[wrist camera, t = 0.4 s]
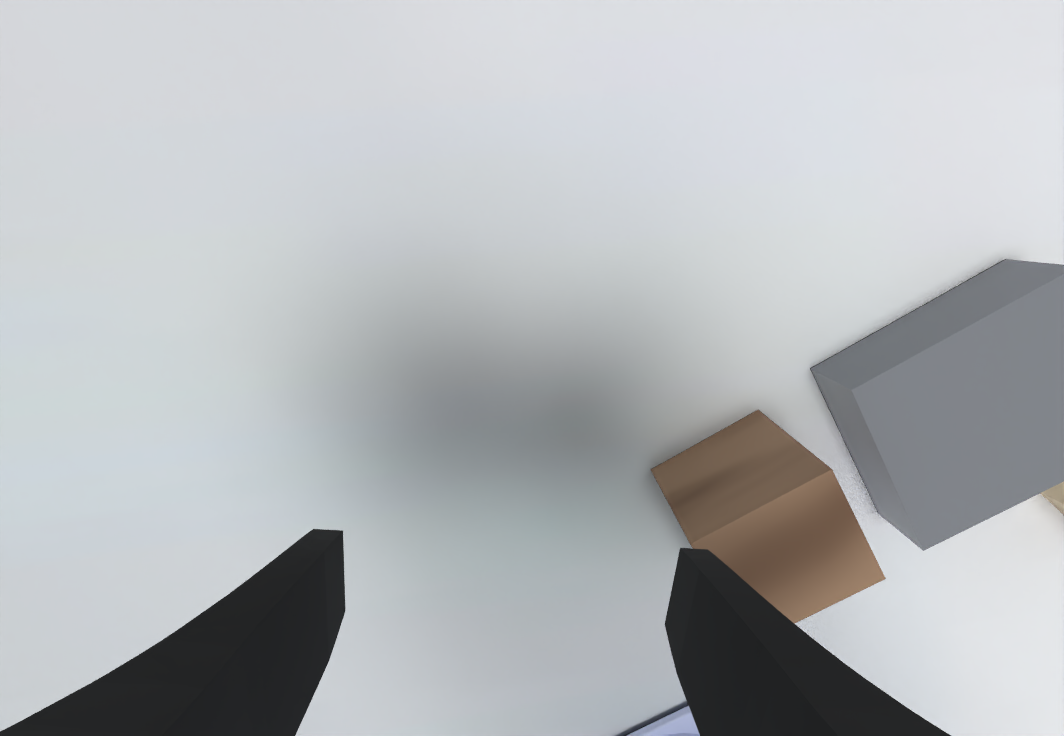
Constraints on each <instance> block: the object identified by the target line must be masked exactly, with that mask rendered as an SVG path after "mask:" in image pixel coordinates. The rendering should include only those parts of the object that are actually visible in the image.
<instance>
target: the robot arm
mask: <svg viewBox="0 0 1064 736" xmlns="http://www.w3.org/2000/svg"><path fill="white" fill-rule="evenodd" d="M344 613H345V586H344V553H343V531H340V530H320V529H313V530H311V531H310V532H309V533H307V534H306V535H305V536H303V537H302V538H301V539H300V540H298V541H297V542H296V543H294V544H293V545H292V546H291V547H289V548H288V549H287V550H286V551H284V552H283V553H282V554H281V555H279V556H278V557H277V558H275V559H274V560H273V561H272V562H270V563H269V564H268V565H266V566H265V567H264V568H263V569H261V570H260V571H259V572H257V573H256V574H255V575H253V576H252V577H251V578H250V579H248V580H247V581H246V582H244V583H243V584H242V585H240V586H239V587H238V588H236V589H235V590H234V591H232V592H231V593H230V594H228V595H227V596H226V597H224V598H223V599H221V600H220V601H218V602H217V603H216V604H214V605H213V606H211V607H210V608H208V609H207V610H206V611H204V612H203V613H201V614H200V615H198V616H197V617H196V618H194V619H193V620H191V621H190V622H188V623H187V624H186V625H184V626H183V627H181V628H180V629H178V630H177V631H175V632H174V633H172V634H171V635H169V636H168V637H166V638H165V639H163V640H162V641H160V642H159V643H157V644H155V645H154V646H152V647H151V648H149V649H148V650H146V651H144V652H143V653H141V654H139V655H138V656H136V657H135V658H133V659H131V660H130V661H128V662H126V663H125V664H123V665H121V666H120V667H118V668H116V669H115V670H113V671H111V672H110V673H108V674H106V675H105V676H103V677H101V678H99V679H98V680H96V681H94V682H92V683H91V684H89V685H87V686H85V687H83V688H81V689H79V690H78V691H76V692H74V693H72V694H70V695H68V696H66V697H65V698H63V699H61V700H59V701H57V702H55V703H54V704H52V705H50V706H48V707H46V708H44V709H42V710H41V711H39V712H37V713H35V714H33V715H31V716H29V717H28V718H26V719H24V720H22V721H20V722H18V723H16V724H14V725H12V726H11V727H9V728H7V729H5V730H3V731H1V732H0V736H295V735H296V732H297V730H298V728H299V726H300V724H301V721H302V719H303V717H304V715H305V713H306V711H307V708H308V706H309V704H310V702H311V700H312V697H313V695H314V693H315V691H316V689H317V686H318V684H319V682H320V680H321V677H322V675H323V673H324V671H325V668H326V666H327V664H328V662H329V659H330V656H331V653H332V650H333V647H334V644H335V641H336V638H337V635H338V632H339V629H340V626H341V622H342V619H343V616H344ZM665 627H666V631H667V635H668V640H669V644H670V648H671V652H672V656H673V660H674V664H675V668H676V672H677V675H678V678H679V680H680V683H681V686H682V689H683V692H684V694H685V697H686V700H687V702H688V705H689V706H687V707H684V708H682V709H680V710H678V711H676V712H674V713H672V714H670V715H668V716H666V717H664V718H662V719H660V720H658V721H655V722H653V723H651V724H649V725H647V726H645V727H643V728H641V729H639V730H637V731H635V732H633V733H631V734H628V735H626V736H951V735H949V734H947V733H946V732H944V731H943V730H941V729H939V728H938V727H936V726H934V725H933V724H931V723H930V722H928V721H927V720H925V719H924V718H922V717H920V716H919V715H917V714H916V713H914V712H913V711H911V710H910V709H908V708H907V707H905V706H904V705H902V704H901V703H899V702H898V701H896V700H895V699H894V698H892V697H891V696H889V695H888V694H886V693H885V692H884V691H882V690H881V689H879V688H878V687H876V686H875V685H873V684H872V683H871V682H869V681H868V680H866V679H865V678H863V677H862V676H861V675H859V674H858V673H857V672H855V671H854V670H853V669H851V668H850V667H848V666H847V665H846V664H844V663H843V662H842V661H841V660H839V659H838V658H837V657H835V656H834V655H833V654H832V653H830V652H829V651H828V650H826V649H825V648H824V647H823V646H821V645H820V644H819V643H817V642H816V641H815V640H814V639H812V638H811V637H810V636H809V635H807V634H806V633H805V632H804V631H803V630H801V629H800V628H799V627H798V626H796V625H795V624H794V623H793V622H792V621H790V620H789V619H788V618H787V617H786V616H784V615H783V614H782V613H781V612H780V611H779V610H777V609H776V608H775V607H774V606H773V605H772V604H770V603H769V602H768V601H767V600H766V599H765V598H764V597H762V596H761V595H760V594H759V593H758V592H757V591H756V590H754V589H753V588H752V587H751V586H750V585H749V584H748V583H746V582H745V581H744V580H743V579H742V578H741V577H740V576H739V575H737V574H736V573H735V572H734V571H733V570H732V569H731V568H729V567H728V566H727V565H726V564H725V563H724V562H723V561H721V560H720V559H719V558H718V557H717V556H715V555H714V554H713V553H712V552H710V551H709V550H708V549H690V548H680V552H679V557H678V562H677V567H676V572H675V576H674V581H673V586H672V591H671V596H670V601H669V606H668V611H667V616H666V621H665Z"/></svg>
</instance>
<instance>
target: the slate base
mask: <svg viewBox="0 0 1064 736" xmlns="http://www.w3.org/2000/svg"><path fill="white" fill-rule="evenodd" d="M811 371H812V373H813V375H814V377H815V379H816V382H817V384H818V386H819V388H820V390H821V392H822V394H823V396H824V399H825V401H826V403H827V405H828V407H829V409H830V411H831V413H832V416H833V418H834V420H835V422H836V424H837V426H838V428H839V430H840V433H841V435H842V437H843V439H844V441H845V443H846V445H847V447H848V450H849V452H850V454H851V456H852V458H853V460H854V462H855V464H856V467H857V469H858V471H859V473H860V475H861V477H862V479H863V481H864V484H865V486H866V488H867V490H868V492H869V494H870V496H871V498H872V501H873V503H874V505H875V507H876V509H877V511H878V513H879V515H881V516H882V517H883V518H884V519H886V520H887V521H888V522H889V523H890V524H892V525H893V526H894V527H895V528H896V529H898V530H899V531H900V532H901V533H903V534H904V535H905V536H906V537H907V538H909V539H910V540H911V541H912V542H913V543H915V544H916V545H917V546H918V547H920V548H921V549H922V550H923V551H924V550H926V549H928V548H930V547H932V546H934V545H936V544H938V543H940V542H942V541H944V540H946V539H948V538H950V537H952V536H954V535H956V534H958V533H960V532H962V531H964V530H966V529H968V528H970V527H972V526H975V525H977V524H979V523H981V522H983V521H985V520H987V519H989V518H991V517H993V516H995V515H997V514H999V513H1001V512H1003V511H1005V510H1007V509H1009V508H1011V507H1013V506H1015V505H1017V504H1019V503H1021V502H1023V501H1025V500H1027V499H1029V498H1031V497H1033V496H1035V495H1037V494H1039V493H1041V492H1043V491H1045V490H1047V489H1050V488H1052V487H1054V486H1056V485H1058V484H1060V483H1062V482H1064V265H1059V264H1049V263H1038V262H1028V261H1017V260H1007V259H1005V260H1003V261H1002V262H1000V263H998V264H996V265H995V266H993V267H991V268H989V269H987V270H986V271H984V272H982V273H980V274H979V275H977V276H975V277H973V278H971V279H970V280H968V281H966V282H964V283H962V284H961V285H959V286H957V287H955V288H954V289H952V290H950V291H948V292H946V293H945V294H943V295H941V296H939V297H938V298H936V299H934V300H932V301H930V302H929V303H927V304H925V305H923V306H921V307H920V308H918V309H916V310H914V311H913V312H911V313H909V314H907V315H905V316H904V317H902V318H900V319H898V320H896V321H895V322H893V323H891V324H889V325H888V326H886V327H884V328H882V329H880V330H879V331H877V332H875V333H873V334H872V335H870V336H868V337H866V338H864V339H863V340H861V341H859V342H857V343H855V344H854V345H852V346H850V347H848V348H847V349H845V350H843V351H841V352H839V353H838V354H836V355H834V356H832V357H830V358H829V359H827V360H825V361H823V362H822V363H820V364H818V365H816V366H814V367H813V368H811Z"/></svg>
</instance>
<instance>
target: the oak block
mask: <svg viewBox="0 0 1064 736" xmlns="http://www.w3.org/2000/svg"><path fill="white" fill-rule="evenodd" d="M1040 494H1042V495H1043V496H1044V497H1045V498H1046V499H1047V500H1048V501H1049V502H1050V503H1051V504H1052V505H1054V506H1055V507H1056V508H1057V509H1058V510H1059V511H1060V512H1061V513H1062V514H1063V515H1064V482H1062V483H1060V484H1058V485H1056V486H1054V487H1052V488H1050V489H1047V490H1045V491H1043V492H1041V493H1040Z"/></svg>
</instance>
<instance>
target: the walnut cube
mask: <svg viewBox="0 0 1064 736" xmlns="http://www.w3.org/2000/svg"><path fill="white" fill-rule="evenodd" d="M651 471H652V473H653V475H654V477H655V479H656V481H657V483H658V484H659V486H660V488H661V490H662V492H663V494H664V496H665V498H666V499H667V501H668V503H669V505H670V507H671V509H672V511H673V513H674V514H675V516H676V518H677V520H678V522H679V524H680V526H681V528H682V529H683V531H684V533H685V535H686V537H687V539H688V541H689V543H690V544H691V546H692V548H693V549H708V550H709V551H710V552H712V553H713V554H714V555H715V556H717V557H718V558H719V559H720V560H721V561H723V562H724V563H725V564H726V565H727V566H728V567H729V568H731V569H732V570H733V571H734V572H735V573H736V574H737V575H739V576H740V577H741V578H742V579H743V580H744V581H745V582H746V583H748V584H749V585H750V586H751V587H752V588H753V589H754V590H756V591H757V592H758V593H759V594H760V595H761V596H762V597H764V598H765V599H766V600H767V601H768V602H769V603H770V604H772V605H773V606H774V607H775V608H776V609H777V610H779V611H780V612H781V613H782V614H783V615H784V616H786V617H787V618H788V619H789V620H790V621H792V622H793V623H796V622H798V621H800V620H803V619H805V618H807V617H809V616H811V615H813V614H815V613H817V612H819V611H821V610H823V609H825V608H827V607H829V606H831V605H833V604H835V603H837V602H839V601H841V600H843V599H845V598H847V597H849V596H851V595H854V594H856V593H858V592H860V591H862V590H864V589H866V588H868V587H870V586H872V585H874V584H876V583H878V582H880V581H882V580H884V579H885V577H884V574H883V572H882V570H881V568H880V566H879V564H878V562H877V560H876V558H875V556H874V554H873V552H872V550H871V548H870V546H869V544H868V542H867V540H866V538H865V536H864V534H863V532H862V530H861V528H860V526H859V524H858V521H857V519H856V517H855V515H854V513H853V511H852V509H851V507H850V505H849V503H848V501H847V499H846V497H845V495H844V493H843V491H842V489H841V487H840V485H839V483H838V481H837V479H836V477H835V475H834V473H833V470H832V469H831V468H830V467H829V466H827V465H826V464H825V463H824V462H822V461H821V460H820V459H819V458H817V457H816V456H815V455H814V454H812V453H811V452H810V451H809V450H807V449H806V448H805V447H804V446H802V445H801V444H800V443H799V442H797V441H796V440H795V439H794V438H793V437H791V436H790V435H789V434H788V433H786V432H785V431H784V430H783V429H781V428H780V427H779V426H778V425H776V424H775V423H774V422H773V421H771V420H770V419H769V418H768V417H766V416H765V415H764V414H763V413H762V412H760V411H759V410H757V411H755V412H753V413H751V414H750V415H748V416H746V417H744V418H742V419H741V420H739V421H737V422H735V423H733V424H732V425H730V426H728V427H726V428H724V429H723V430H721V431H719V432H717V433H715V434H714V435H712V436H710V437H708V438H707V439H705V440H703V441H701V442H699V443H698V444H696V445H694V446H692V447H690V448H689V449H687V450H685V451H683V452H681V453H680V454H678V455H676V456H674V457H672V458H671V459H669V460H667V461H665V462H663V463H662V464H660V465H658V466H656V467H655V468H653V469H651Z"/></svg>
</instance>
